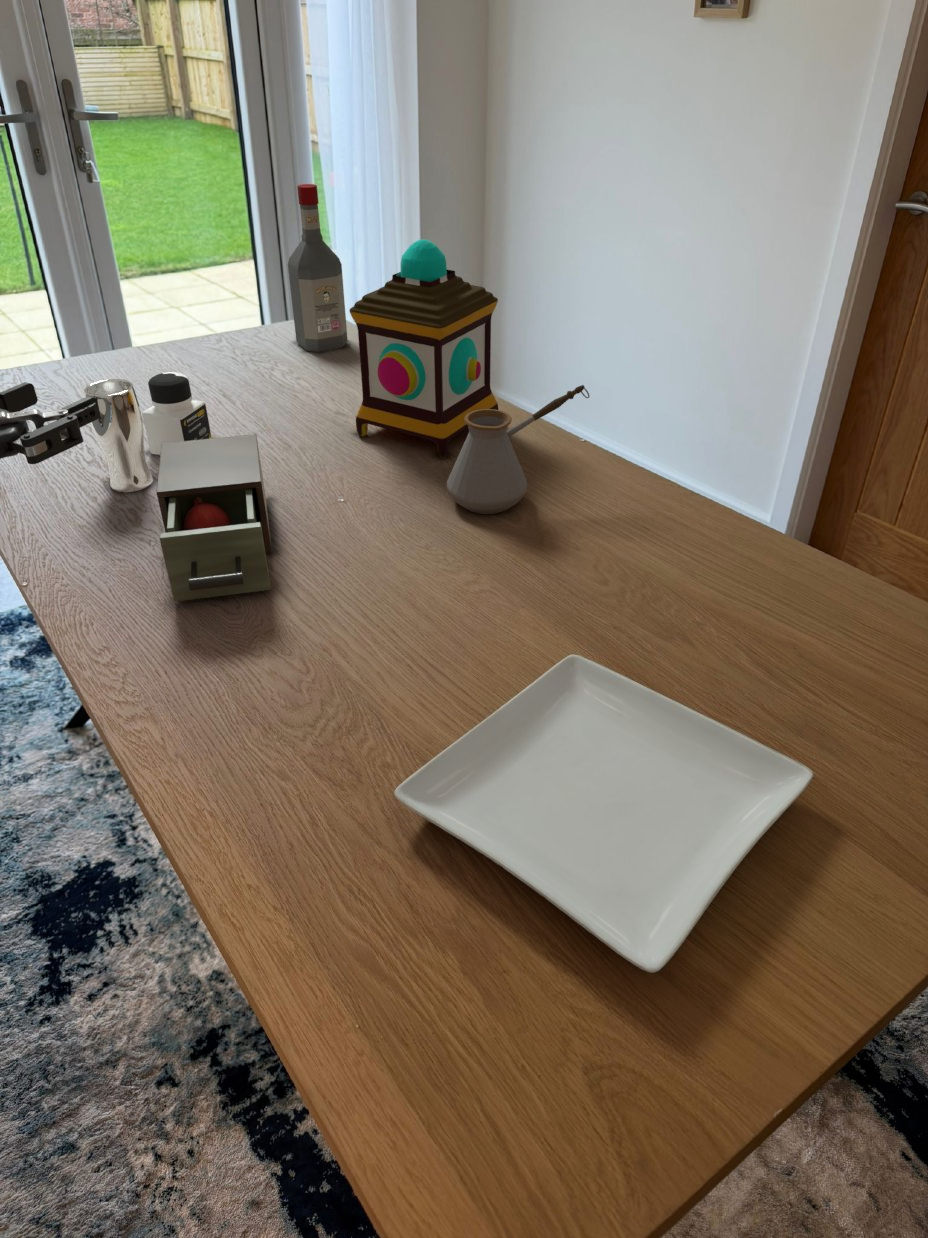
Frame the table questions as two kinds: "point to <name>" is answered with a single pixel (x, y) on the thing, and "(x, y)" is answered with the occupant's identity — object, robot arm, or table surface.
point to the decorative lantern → (424, 349)
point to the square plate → (609, 802)
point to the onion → (205, 516)
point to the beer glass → (120, 433)
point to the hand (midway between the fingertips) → (64, 398)
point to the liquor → (316, 283)
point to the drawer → (215, 548)
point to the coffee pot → (493, 460)
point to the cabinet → (213, 472)
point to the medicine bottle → (174, 412)
